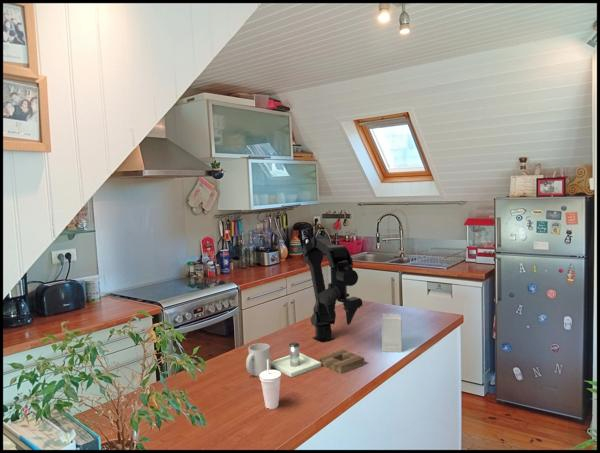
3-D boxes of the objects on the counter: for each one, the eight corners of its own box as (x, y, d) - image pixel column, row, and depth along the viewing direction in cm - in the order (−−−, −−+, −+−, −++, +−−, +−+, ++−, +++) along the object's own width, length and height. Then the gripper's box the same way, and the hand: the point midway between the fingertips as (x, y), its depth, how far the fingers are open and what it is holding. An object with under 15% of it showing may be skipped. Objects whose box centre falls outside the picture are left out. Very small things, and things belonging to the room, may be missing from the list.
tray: (269, 365, 163) (269, 361, 162) (298, 356, 170) (298, 352, 170) (291, 377, 152) (291, 373, 152) (321, 366, 160) (321, 362, 160)
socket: (319, 364, 162) (319, 357, 162) (342, 355, 169) (342, 349, 169) (340, 373, 154) (340, 366, 153) (364, 364, 160) (364, 357, 160)
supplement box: (402, 352, 170) (401, 319, 168) (381, 351, 171) (381, 318, 170) (401, 345, 177) (401, 313, 176) (382, 344, 178) (381, 312, 177)
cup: (275, 370, 159) (273, 345, 158) (255, 381, 151) (254, 355, 150) (259, 366, 163) (258, 341, 162) (239, 376, 155) (238, 351, 154)
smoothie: (260, 401, 137) (258, 356, 135) (282, 399, 137) (280, 354, 136) (260, 412, 130) (258, 364, 129) (283, 410, 131) (281, 363, 129)
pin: (288, 364, 162) (287, 344, 161) (295, 362, 164) (295, 341, 163) (294, 367, 159) (293, 346, 158) (301, 364, 161) (301, 344, 160)
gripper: (305, 280, 171) (307, 320, 173) (339, 288, 157) (341, 332, 158) (328, 275, 178) (329, 314, 180) (362, 282, 163) (364, 325, 165)
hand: (340, 321), depth 171 cm, fingers open, 9 cm apart
